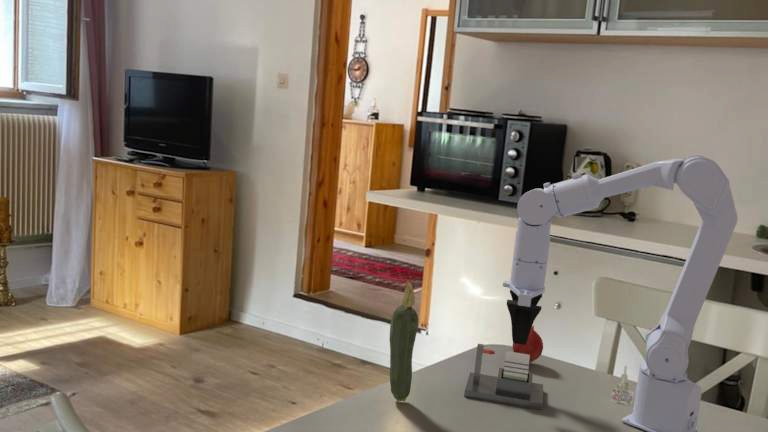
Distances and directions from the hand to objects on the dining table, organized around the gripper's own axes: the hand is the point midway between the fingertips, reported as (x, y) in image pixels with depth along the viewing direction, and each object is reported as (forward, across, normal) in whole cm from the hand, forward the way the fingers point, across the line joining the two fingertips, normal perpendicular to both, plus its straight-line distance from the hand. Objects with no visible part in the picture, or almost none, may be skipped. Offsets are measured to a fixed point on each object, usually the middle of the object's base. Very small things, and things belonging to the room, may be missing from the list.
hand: (520, 337), depth 126 cm
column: (+9, 0, 0) cm, 9 cm away
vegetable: (+11, +13, -18) cm, 24 cm away
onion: (+11, -18, +2) cm, 21 cm away
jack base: (+10, 0, -2) cm, 11 cm away
